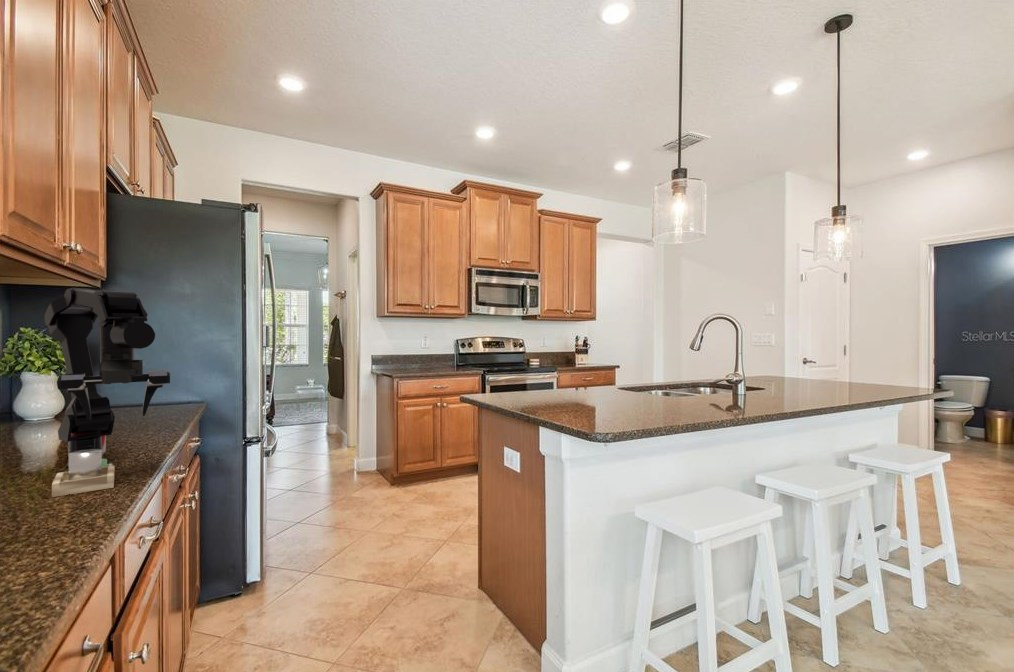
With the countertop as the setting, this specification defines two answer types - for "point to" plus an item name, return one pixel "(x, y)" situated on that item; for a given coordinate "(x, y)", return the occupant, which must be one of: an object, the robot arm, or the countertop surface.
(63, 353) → the robot arm
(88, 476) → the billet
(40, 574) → the countertop surface
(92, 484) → the pallet
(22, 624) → the countertop surface
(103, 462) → the button
